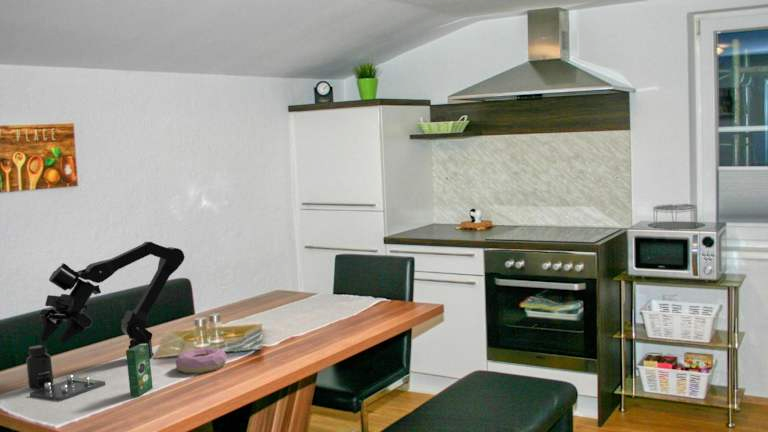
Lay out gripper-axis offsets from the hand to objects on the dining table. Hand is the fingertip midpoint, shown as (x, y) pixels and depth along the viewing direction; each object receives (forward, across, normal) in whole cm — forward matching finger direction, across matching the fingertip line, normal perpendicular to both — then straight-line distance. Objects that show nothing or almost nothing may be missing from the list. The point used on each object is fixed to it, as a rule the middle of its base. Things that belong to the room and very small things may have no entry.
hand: (51, 342), depth 241 cm
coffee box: (+8, +37, +9) cm, 39 cm away
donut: (-9, +36, +26) cm, 46 cm away
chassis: (+12, +13, +5) cm, 18 cm away
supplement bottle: (+12, 0, +5) cm, 13 cm away
